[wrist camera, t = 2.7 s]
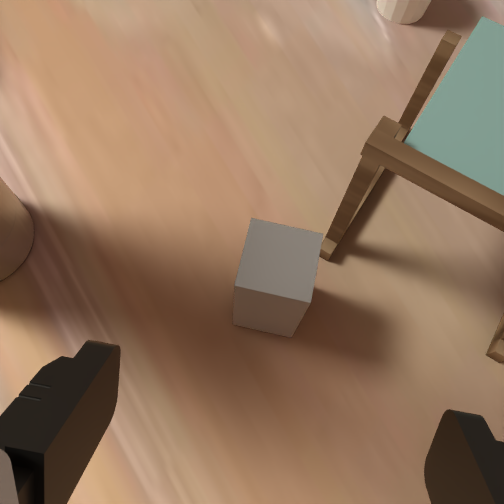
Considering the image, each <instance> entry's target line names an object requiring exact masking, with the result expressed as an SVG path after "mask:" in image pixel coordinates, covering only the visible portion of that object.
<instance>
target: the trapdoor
mask: <svg viewBox="0 0 504 504" xmlns="http://www.w3.org/2000/svg"><path fill="white" fill-rule="evenodd" d="M404 144H406V145H408V146H410V147H412V148H414V149H416V150H418V151H420V152H422V153H423V154H425V155H427V156H429V157H431V158H433V159H435V160H437V161H439V162H441V163H442V164H444V165H446V166H448V167H450V168H452V169H454V170H456V171H458V172H460V173H461V174H463V175H465V176H467V177H469V178H471V179H473V180H475V181H477V182H479V183H481V184H482V185H484V186H486V187H488V188H490V189H492V190H494V191H496V192H498V193H500V194H501V195H503V196H504V26H502V25H500V24H498V23H496V22H494V21H492V20H489V19H487V18H485V17H483V16H482V17H481V19H480V21H479V22H478V24H477V25H476V27H475V29H474V30H473V32H472V33H471V35H470V37H469V38H468V40H467V42H466V43H465V45H464V46H463V48H462V50H461V51H460V53H459V54H458V56H457V58H456V59H455V61H454V63H453V64H452V66H451V67H450V69H449V71H448V72H447V74H446V75H445V77H444V79H443V80H442V82H441V83H440V85H439V87H438V88H437V90H436V92H435V93H434V95H433V96H432V98H431V100H430V101H429V103H428V104H427V106H426V108H425V109H424V111H423V112H422V114H421V116H420V117H419V119H418V121H417V122H416V124H415V125H414V127H413V129H412V130H411V132H410V133H409V135H408V137H407V138H406V140H405V142H404Z"/></svg>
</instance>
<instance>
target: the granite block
mask: <svg viewBox="0 0 504 504" xmlns="http://www.w3.org/2000/svg"><path fill="white" fill-rule="evenodd" d="M322 238H323V234H322V233H317V232H313V231H308V230H304V229H299V228H295V227H290V226H286V225H281V224H277V223H272V222H268V221H263V220H259V219H254V218H251V221H250V225H249V229H248V233H247V237H246V241H245V245H244V249H243V253H242V257H241V261H240V265H239V269H238V273H237V277H236V281H235V285H234V303H233V325H238V326H242V327H246V328H251V329H255V330H259V331H264V332H268V333H272V334H277V335H281V336H285V337H289V338H291V337H292V336H293V334H294V332H295V330H296V328H297V327H298V325H299V323H300V321H301V320H302V318H303V316H304V314H305V312H306V311H307V309H308V307H309V305H310V303H311V299H312V293H313V288H314V282H315V277H316V271H317V266H318V260H319V255H320V249H321V244H322Z"/></svg>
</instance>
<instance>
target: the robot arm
mask: <svg viewBox="0 0 504 504" xmlns="http://www.w3.org/2000/svg"><path fill="white" fill-rule="evenodd" d="M33 239H34V224H33V221H32V218H31V215H30V213H29V212H28V211H27V209H26V208H25V207H24V205H23V204H22V202H21V201H20V199H19V198H18V197H17V196H16V195H15V194H14V193H13V192H12V191H11V189H10V188H9V187H8V186H7V185H6V183H5V182H4V181H3V180H2V179H1V177H0V281H1V280H3V279H5V278H6V277H8V276H9V275H10V274H12V273H13V272H14V271H15V270H16V269H17V268H18V267H19V266H20V265H21V264H22V263H23V262H24V260H25V259H26V257H27V255H28V254H29V252H30V249H31V247H32V244H33ZM119 368H120V347H119V345H114V344H108V343H103V342H98V341H93V340H88V341H87V342H86V343H85V344H84V345H83V347H82V348H81V349H80V350H79V352H78V353H77V354H76V355H75V357H74V358H69V357H63V356H61V357H59V358H58V359H56V360H54V361H52V362H51V363H49V364H47V365H45V366H44V367H42V368H41V369H40V371H39V372H38V373H37V374H36V375H35V376H34V377H33V379H32V380H31V381H30V383H29V385H27V386H26V387H25V388H24V389H23V390H22V391H21V393H20V394H19V397H16V398H15V400H14V401H13V402H12V403H11V404H10V405H9V406H8V408H7V409H6V410H5V411H4V412H3V413H2V415H1V416H0V504H67V502H68V500H69V498H70V497H71V495H72V493H73V491H74V489H75V487H76V485H77V483H78V482H79V480H80V478H81V476H82V474H83V472H84V470H85V469H86V467H87V465H88V463H89V461H90V459H91V457H92V455H93V454H94V452H95V450H96V448H97V446H98V444H99V442H100V441H101V439H102V437H103V435H104V433H105V431H106V429H107V427H108V426H109V424H110V422H111V419H112V417H113V414H114V411H115V407H116V403H117V397H118V383H119ZM424 477H425V484H426V488H427V491H428V494H429V498H430V501H431V504H504V442H501V441H496V440H495V438H494V436H493V434H492V432H491V430H490V429H489V427H488V425H487V423H486V421H485V419H484V418H483V417H482V416H480V415H476V414H471V413H465V412H460V411H455V410H450V409H449V410H446V411H445V412H444V414H443V416H442V418H441V421H440V423H439V426H438V429H437V431H436V434H435V436H434V439H433V441H432V444H431V447H430V449H429V452H428V454H427V457H426V461H425V468H424Z"/></svg>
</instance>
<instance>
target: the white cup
mask: <svg viewBox="0 0 504 504" xmlns="http://www.w3.org/2000/svg"><path fill="white" fill-rule="evenodd" d="M430 2H431V0H377V2H376V4H377V9H378V11H379V12H380V14H381V15H382V16H383V17H384V18H386V19H388V20H389V21H391V22H394V23H398V24H411V23H414V22H417V21H418V20H419V19H420V18H421V17H422V16H423V14H424V13H425V11H426V9H427V7H428V6H429V4H430Z"/></svg>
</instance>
